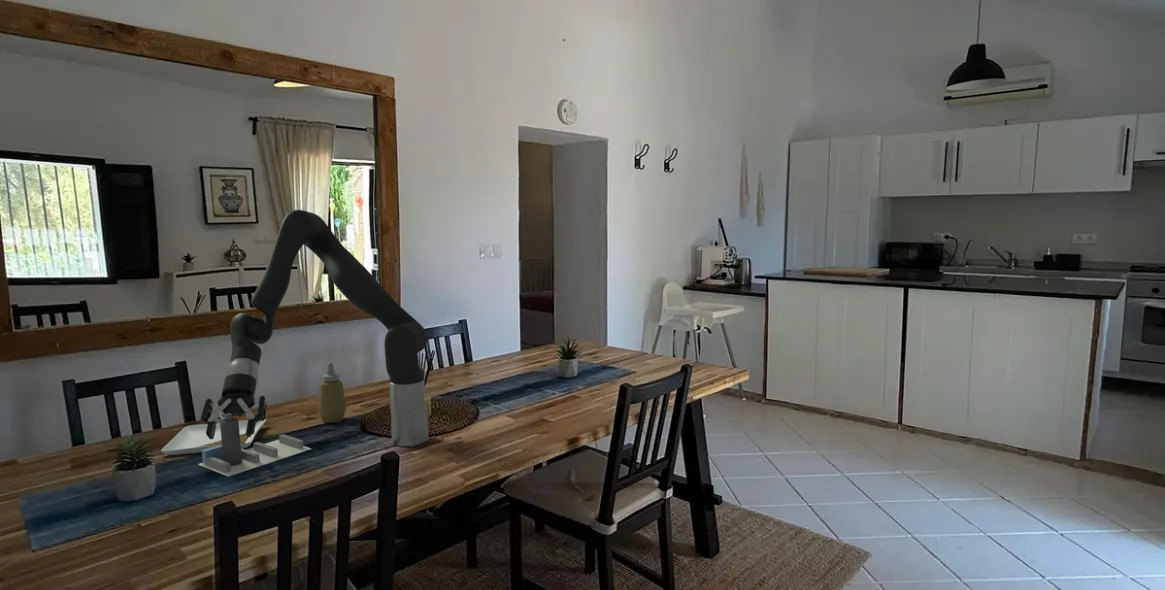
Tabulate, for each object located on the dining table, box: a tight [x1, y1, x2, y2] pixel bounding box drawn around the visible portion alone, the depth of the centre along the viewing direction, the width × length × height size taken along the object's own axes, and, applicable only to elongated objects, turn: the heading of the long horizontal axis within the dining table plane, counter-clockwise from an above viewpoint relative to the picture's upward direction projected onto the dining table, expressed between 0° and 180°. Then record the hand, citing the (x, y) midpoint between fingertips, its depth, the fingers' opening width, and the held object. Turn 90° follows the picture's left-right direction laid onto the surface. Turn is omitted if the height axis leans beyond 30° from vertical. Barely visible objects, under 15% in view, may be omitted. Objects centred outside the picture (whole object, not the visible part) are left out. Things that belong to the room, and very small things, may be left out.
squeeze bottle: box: [317, 362, 347, 424], centre depth 195 cm, size 8×8×18 cm
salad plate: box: [161, 418, 267, 456], centre depth 176 cm, size 21×21×3 cm
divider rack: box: [197, 433, 312, 477], centre depth 163 cm, size 14×22×4 cm, turn 147°
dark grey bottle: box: [219, 413, 242, 466], centre depth 158 cm, size 4×4×13 cm
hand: (229, 436), depth 156 cm, fingers open, 8 cm apart
